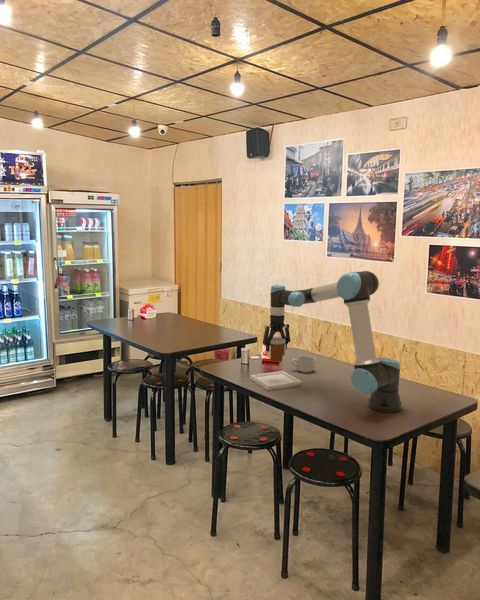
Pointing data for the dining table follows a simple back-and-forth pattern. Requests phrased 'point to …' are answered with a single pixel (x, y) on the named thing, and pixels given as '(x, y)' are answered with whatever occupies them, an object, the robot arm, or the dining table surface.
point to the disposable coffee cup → (277, 349)
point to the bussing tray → (276, 380)
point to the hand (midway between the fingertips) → (276, 356)
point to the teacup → (304, 363)
